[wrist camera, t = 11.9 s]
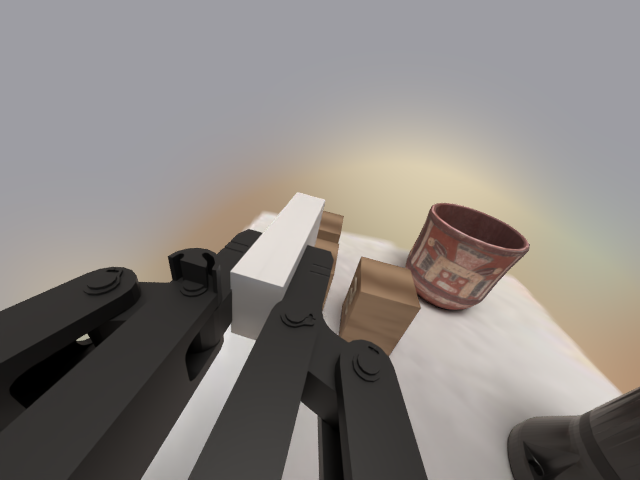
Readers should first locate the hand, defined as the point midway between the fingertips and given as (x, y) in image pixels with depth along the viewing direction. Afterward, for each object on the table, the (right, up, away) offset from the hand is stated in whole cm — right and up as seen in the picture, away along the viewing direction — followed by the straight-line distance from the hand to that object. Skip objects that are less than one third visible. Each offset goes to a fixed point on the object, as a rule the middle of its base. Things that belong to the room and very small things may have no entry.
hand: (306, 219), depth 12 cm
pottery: (+27, -13, +41) cm, 50 cm away
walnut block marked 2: (+8, -17, +27) cm, 33 cm away
